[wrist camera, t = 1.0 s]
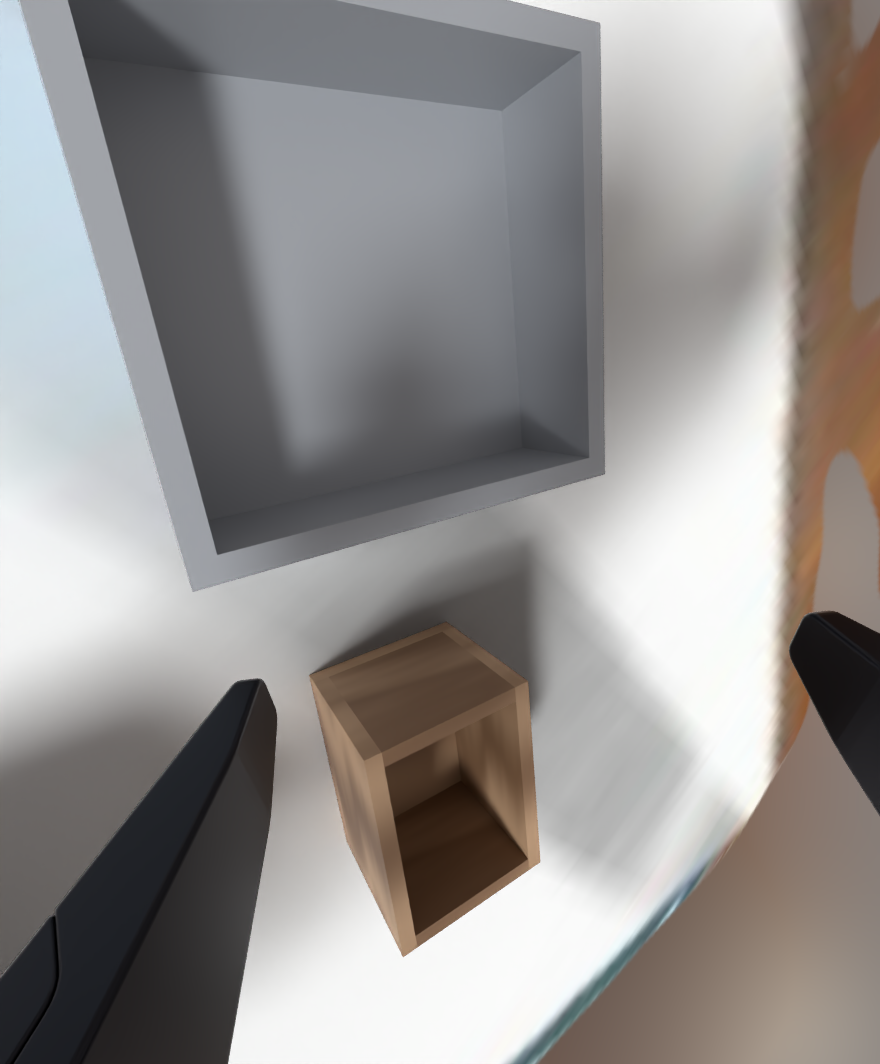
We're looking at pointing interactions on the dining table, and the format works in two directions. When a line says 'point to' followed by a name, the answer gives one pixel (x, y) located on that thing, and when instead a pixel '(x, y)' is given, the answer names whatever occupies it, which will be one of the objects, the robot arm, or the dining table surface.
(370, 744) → the walnut crate
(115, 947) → the robot arm
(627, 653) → the dining table surface
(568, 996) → the dining table surface
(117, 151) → the grey crate
